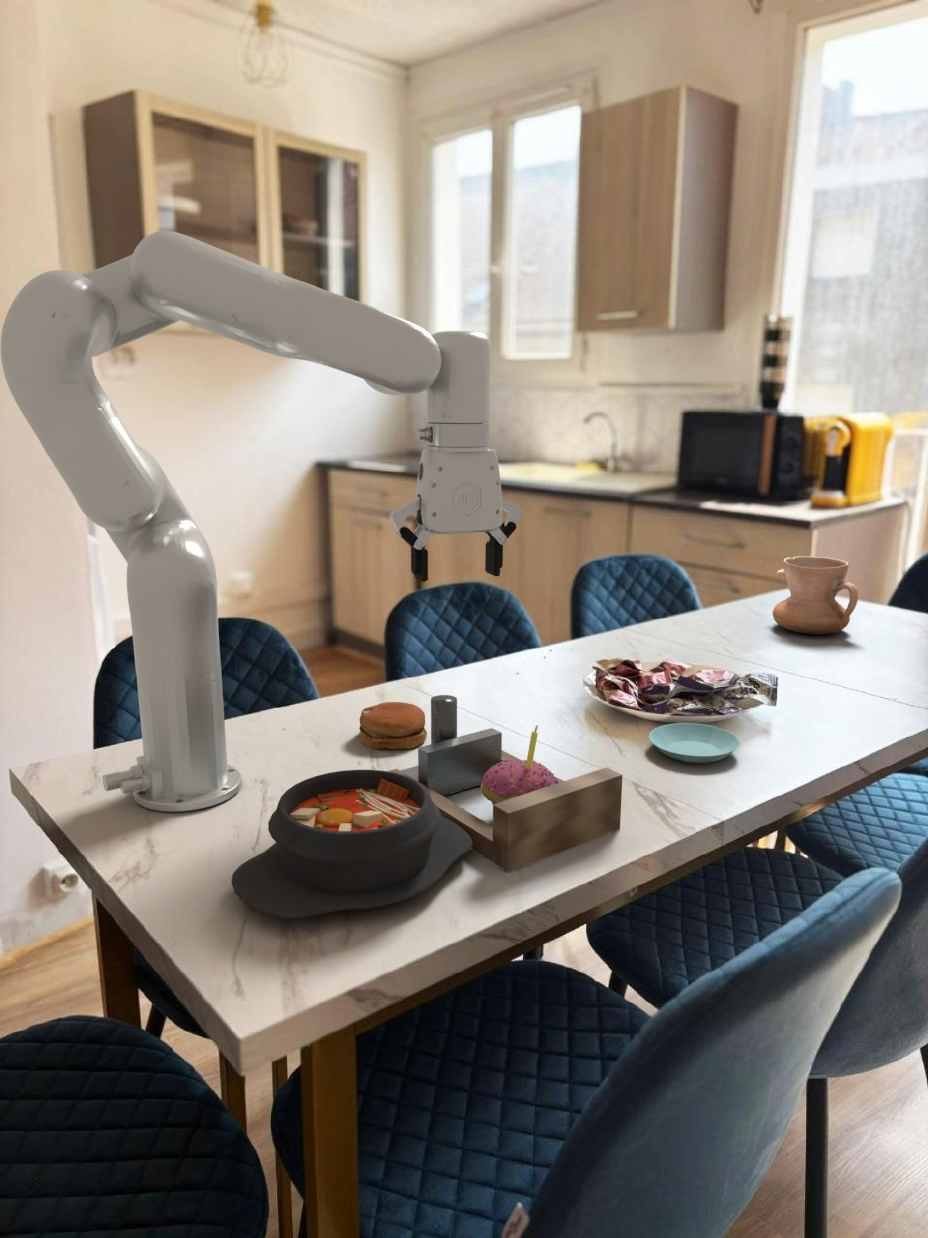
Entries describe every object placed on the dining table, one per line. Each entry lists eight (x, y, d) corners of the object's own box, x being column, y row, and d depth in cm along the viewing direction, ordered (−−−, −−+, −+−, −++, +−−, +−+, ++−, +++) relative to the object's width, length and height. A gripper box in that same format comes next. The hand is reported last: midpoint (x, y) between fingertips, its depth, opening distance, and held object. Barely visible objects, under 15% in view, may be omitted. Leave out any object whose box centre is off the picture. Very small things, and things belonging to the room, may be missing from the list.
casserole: (405, 809, 108) (404, 741, 106) (511, 872, 94) (513, 796, 92) (200, 878, 92) (194, 801, 90) (291, 967, 78) (287, 877, 76)
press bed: (507, 872, 93) (508, 813, 92) (383, 790, 112) (382, 740, 111) (619, 829, 103) (622, 774, 101) (487, 760, 121) (488, 713, 120)
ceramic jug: (751, 626, 189) (756, 557, 186) (797, 617, 197) (803, 551, 193) (827, 646, 175) (834, 572, 171) (873, 636, 182) (882, 565, 179)
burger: (435, 747, 126) (435, 715, 125) (368, 756, 123) (367, 723, 122) (415, 723, 135) (414, 693, 134) (352, 731, 132) (351, 700, 131)
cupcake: (568, 816, 106) (572, 717, 103) (535, 847, 99) (538, 741, 96) (502, 799, 110) (503, 703, 107) (466, 828, 103) (466, 726, 100)
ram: (428, 800, 109) (427, 719, 106) (396, 780, 114) (394, 702, 112) (501, 778, 115) (502, 700, 113) (467, 760, 121) (467, 685, 118)
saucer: (691, 779, 116) (693, 762, 116) (629, 748, 126) (630, 732, 126) (757, 760, 122) (759, 744, 122) (693, 732, 132) (694, 717, 132)
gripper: (399, 440, 105) (401, 587, 109) (536, 438, 112) (532, 578, 116) (380, 437, 112) (382, 576, 116) (510, 435, 118) (507, 567, 123)
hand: (457, 576), depth 116 cm, fingers open, 9 cm apart
